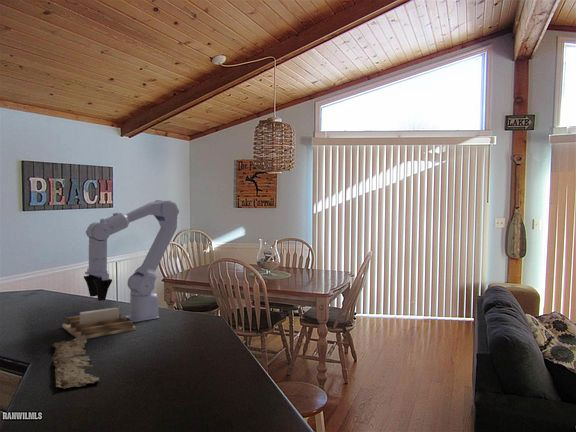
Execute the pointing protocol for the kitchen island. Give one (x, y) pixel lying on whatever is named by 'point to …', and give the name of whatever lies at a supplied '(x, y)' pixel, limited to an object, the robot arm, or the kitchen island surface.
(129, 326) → the drying rack
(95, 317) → the clay bar
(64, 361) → the rock fragment
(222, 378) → the kitchen island surface
